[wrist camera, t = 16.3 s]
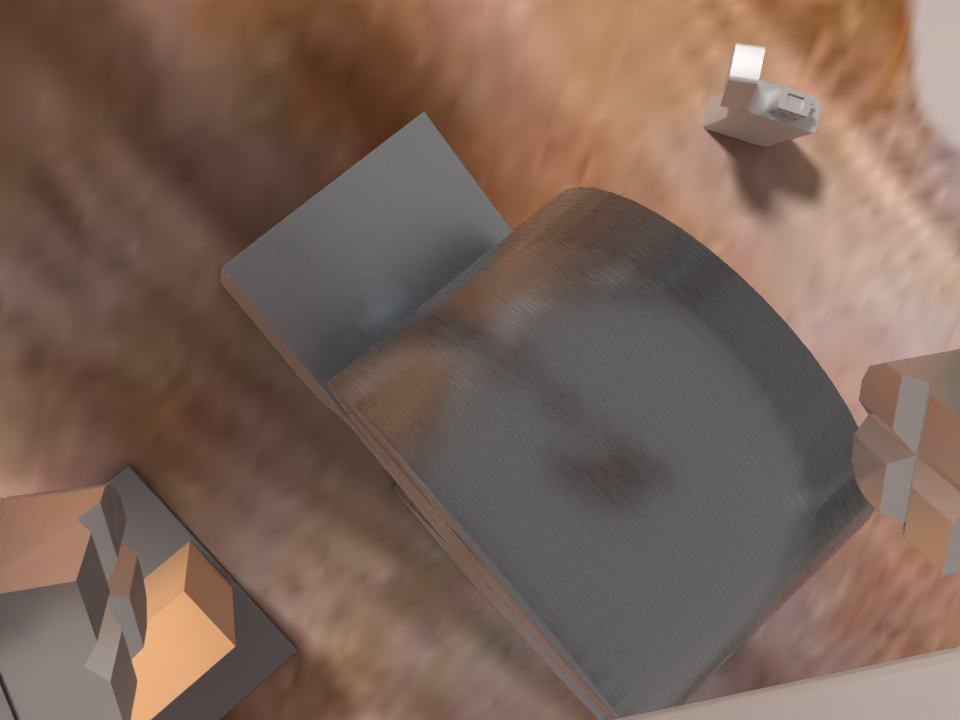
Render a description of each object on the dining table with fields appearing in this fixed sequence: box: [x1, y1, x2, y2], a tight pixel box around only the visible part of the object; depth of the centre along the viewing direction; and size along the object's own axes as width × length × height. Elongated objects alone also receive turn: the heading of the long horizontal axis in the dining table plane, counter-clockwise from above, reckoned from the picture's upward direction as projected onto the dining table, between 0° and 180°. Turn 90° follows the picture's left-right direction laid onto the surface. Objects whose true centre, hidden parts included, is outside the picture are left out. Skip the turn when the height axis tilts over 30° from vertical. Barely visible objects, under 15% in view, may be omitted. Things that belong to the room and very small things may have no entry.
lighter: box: [703, 43, 822, 148], centre depth 46 cm, size 7×2×8 cm, turn 78°
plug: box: [131, 541, 235, 720], centre depth 38 cm, size 12×3×8 cm, turn 129°
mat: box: [107, 465, 297, 720], centre depth 42 cm, size 12×12×1 cm
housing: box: [220, 112, 875, 720], centre depth 32 cm, size 8×20×28 cm, turn 39°
